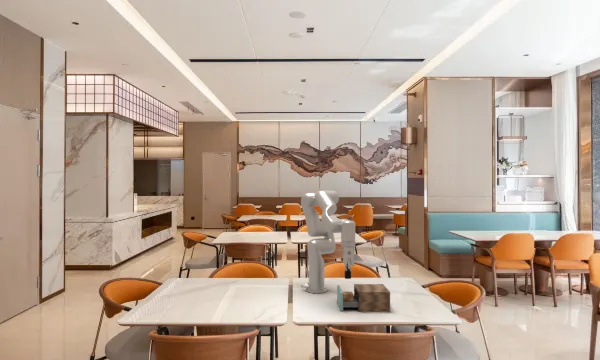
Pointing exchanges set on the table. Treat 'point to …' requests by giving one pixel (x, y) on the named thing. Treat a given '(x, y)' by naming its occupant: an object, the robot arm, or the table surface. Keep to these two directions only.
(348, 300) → the cube
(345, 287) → the table surface
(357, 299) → the teal drawer
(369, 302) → the cabinet
